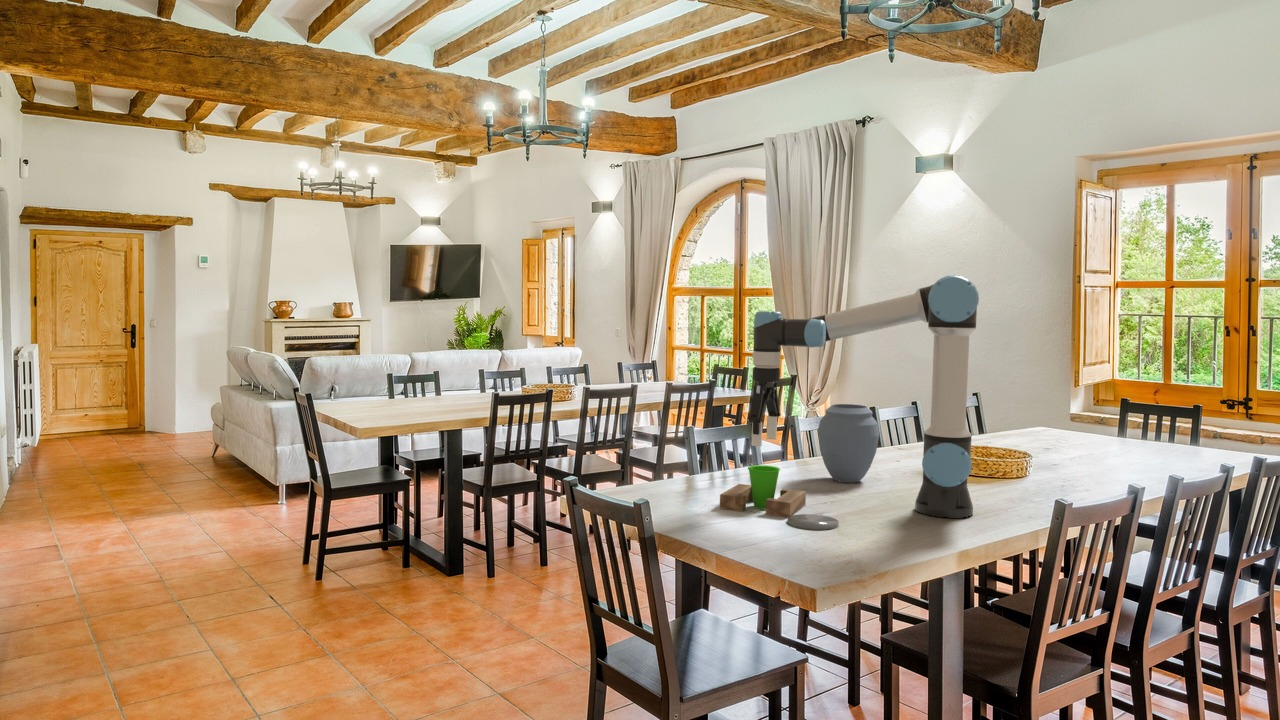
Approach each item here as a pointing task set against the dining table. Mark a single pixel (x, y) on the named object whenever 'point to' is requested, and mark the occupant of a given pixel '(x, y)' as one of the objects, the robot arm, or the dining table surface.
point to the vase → (848, 441)
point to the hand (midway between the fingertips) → (764, 442)
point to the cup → (763, 483)
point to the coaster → (813, 522)
